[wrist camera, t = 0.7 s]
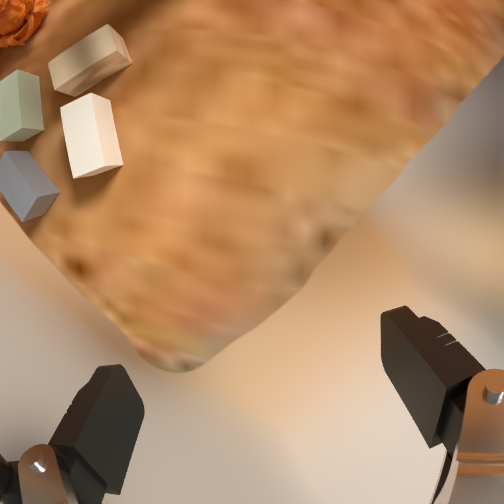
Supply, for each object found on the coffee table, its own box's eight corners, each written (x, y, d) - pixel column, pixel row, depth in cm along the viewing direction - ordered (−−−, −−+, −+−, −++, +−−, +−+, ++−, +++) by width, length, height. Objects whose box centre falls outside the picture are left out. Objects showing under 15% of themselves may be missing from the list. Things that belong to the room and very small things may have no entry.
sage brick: (18, 89, 27) (-4, 84, 23) (39, 76, 27) (17, 69, 23) (23, 141, 30) (0, 141, 25) (45, 129, 30) (21, 127, 25)
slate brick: (14, 173, 31) (-10, 176, 26) (28, 150, 30) (5, 150, 25) (44, 214, 32) (22, 222, 28) (60, 191, 32) (37, 196, 27)
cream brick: (81, 113, 29) (60, 107, 25) (110, 100, 29) (91, 92, 24) (94, 175, 32) (73, 178, 27) (123, 164, 31) (105, 165, 27)
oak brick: (76, 97, 29) (54, 90, 24) (68, 72, 28) (47, 62, 23) (132, 63, 28) (116, 50, 23) (123, 38, 27) (107, 23, 22)
